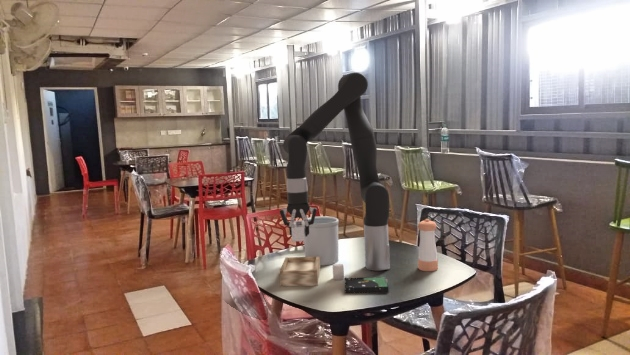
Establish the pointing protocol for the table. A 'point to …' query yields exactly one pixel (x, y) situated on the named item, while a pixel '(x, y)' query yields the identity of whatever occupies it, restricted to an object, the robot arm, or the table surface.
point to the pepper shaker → (427, 246)
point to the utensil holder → (323, 240)
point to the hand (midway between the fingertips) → (299, 235)
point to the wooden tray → (300, 271)
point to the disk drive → (366, 285)
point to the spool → (338, 272)
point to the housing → (298, 231)
